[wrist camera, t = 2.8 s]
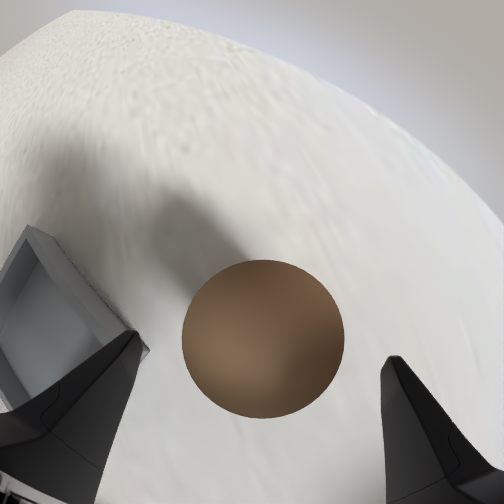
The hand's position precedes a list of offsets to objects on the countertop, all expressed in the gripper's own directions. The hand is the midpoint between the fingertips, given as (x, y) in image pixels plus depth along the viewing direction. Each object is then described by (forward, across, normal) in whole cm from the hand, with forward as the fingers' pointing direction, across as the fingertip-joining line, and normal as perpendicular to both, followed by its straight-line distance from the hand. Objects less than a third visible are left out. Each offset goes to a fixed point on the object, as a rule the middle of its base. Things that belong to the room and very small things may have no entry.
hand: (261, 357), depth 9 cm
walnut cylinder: (+7, 0, +6) cm, 9 cm away
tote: (+4, +17, +9) cm, 20 cm away
